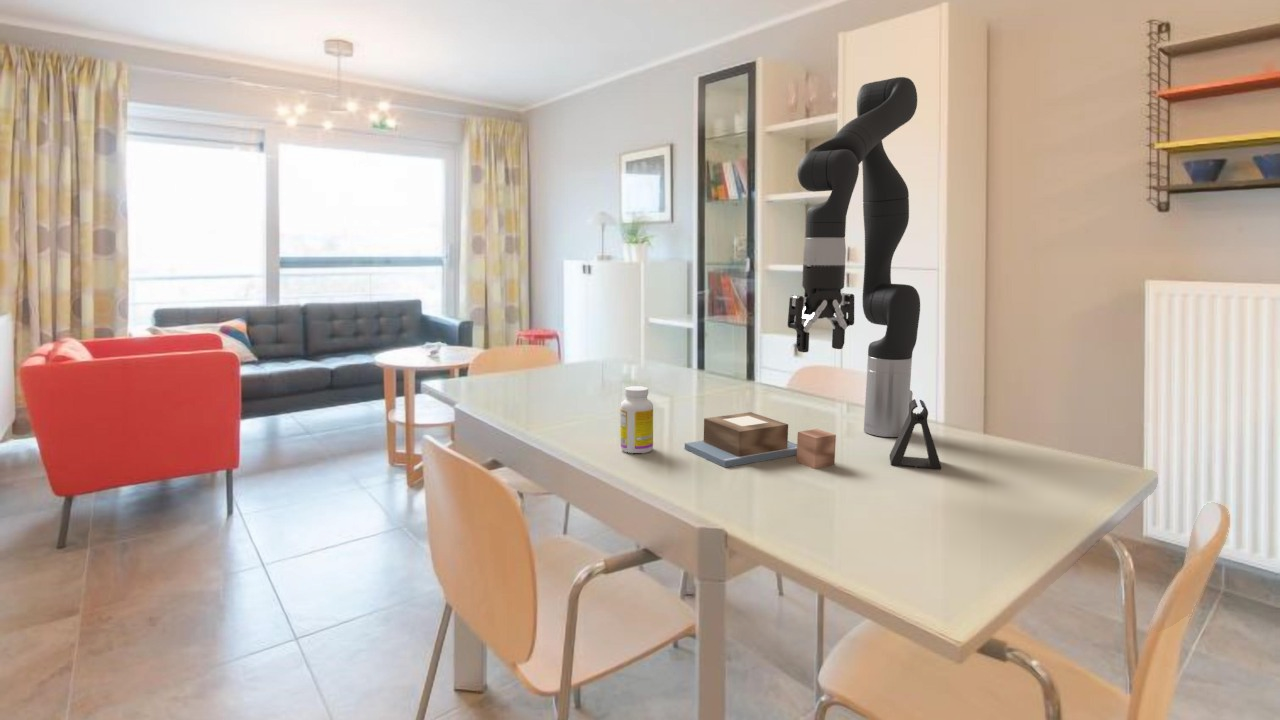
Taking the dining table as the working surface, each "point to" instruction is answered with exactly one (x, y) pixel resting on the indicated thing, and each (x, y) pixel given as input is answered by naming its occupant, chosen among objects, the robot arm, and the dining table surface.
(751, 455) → the base
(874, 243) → the robot arm
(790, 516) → the dining table surface
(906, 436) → the phone stand
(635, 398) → the supplement bottle
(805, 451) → the terracotta block
